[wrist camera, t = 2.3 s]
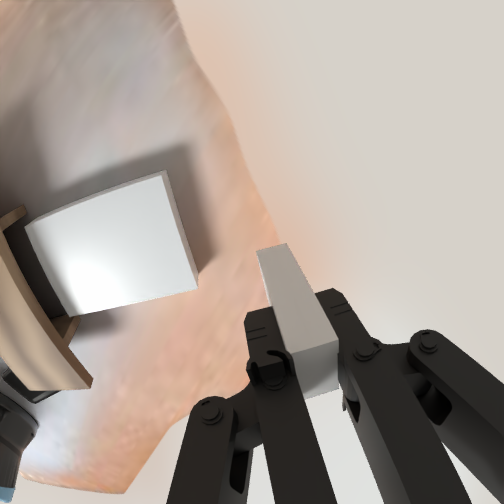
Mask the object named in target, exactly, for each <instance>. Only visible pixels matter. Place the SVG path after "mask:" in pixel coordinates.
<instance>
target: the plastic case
mask: <svg viewBox="0 0 504 504" xmlns="http://www.w3.org/2000/svg"><path fill="white" fill-rule="evenodd" d="M25 230H26V232H27V235H28V237H29V240H30V242H31V244H32V246H33V249H34V251H35V253H36V255H37V257H38V260H39V262H40V264H41V266H42V268H43V270H44V272H45V274H46V276H47V278H48V280H49V282H50V284H51V285H52V287H53V289H54V291H55V293H56V295H57V296H58V298H59V300H60V302H61V303H62V305H63V307H64V309H65V310H66V312H67V314H68V315H69V317H72V316H77V315H82V314H86V313H91V312H96V311H101V310H105V309H110V308H115V307H119V306H124V305H129V304H133V303H138V302H142V301H147V300H151V299H156V298H160V297H164V296H169V295H173V294H178V293H182V292H186V291H190V290H195V289H198V275H199V274H198V271H197V268H196V265H195V262H194V259H193V256H192V253H191V250H190V247H189V244H188V241H187V237H186V234H185V231H184V228H183V225H182V222H181V218H180V215H179V212H178V209H177V205H176V202H175V199H174V195H173V192H172V188H171V185H170V181H169V178H168V174H167V171H166V170H163V171H160V172H157V173H153V174H150V175H147V176H144V177H141V178H138V179H134V180H131V181H128V182H126V183H123V184H120V185H117V186H114V187H111V188H108V189H106V190H103V191H100V192H97V193H95V194H92V195H90V196H87V197H84V198H82V199H79V200H77V201H74V202H72V203H69V204H67V205H65V206H62V207H60V208H58V209H55V210H53V211H51V212H48V213H46V214H44V215H42V216H39V217H37V218H36V219H35V220H33V221H32V222H31V223H29V224H28V225H27V226H25Z"/></svg>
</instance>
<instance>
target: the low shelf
mask: <svg viewBox="0 0 504 504" xmlns="http://www.w3.org/2000/svg"><path fill="white" fill-rule="evenodd" d="M26 214H27V212H26V209H25V207H24V204H23V205H21V206H20V207H18V208H16V209H14V210H13V211H11V212H9V213H8V214H6V215H4V216H3V217H1V218H0V356H1V358H2V359H3V360H4V361H5V363H6V364H7V365H8V366H9V368H10V369H11V370H12V371H13V372H14V374H15V375H16V376H17V377H18V378H19V379H20V380H21V381H22V383H23V384H24V385H25V386H26V387H27V388H28V389H29V390H31V391H49V390H79V389H90V388H91V385H92V382H93V378H92V376H91V375H90V374H89V373H88V372H87V370H86V369H85V368H84V367H83V365H82V364H81V363H80V362H79V360H78V359H77V358H76V357H75V355H74V354H73V353H72V351H71V350H70V349H69V347H68V346H69V344H70V342H71V339H72V337H73V335H74V333H75V331H76V329H77V327H78V325H79V323H80V320H81V318H80V317H79V315H77V316H72V317H69V315H64V316H59V317H55V318H51V319H49V318H48V317H47V315H46V314H45V312H44V311H43V309H42V307H41V306H40V304H39V302H38V301H37V299H36V297H35V296H34V294H33V292H32V291H31V289H30V287H29V285H28V283H27V282H26V280H25V278H24V276H23V274H22V272H21V270H20V268H19V266H18V264H17V262H16V260H15V258H14V256H13V254H12V252H11V250H10V248H9V246H8V243H7V241H6V239H5V237H4V234H3V232H2V231H3V230H4V229H6V228H7V227H9V226H10V225H11V224H13V223H14V222H15V221H17V220H18V219H20V218H21V217H23V216H24V215H26Z"/></svg>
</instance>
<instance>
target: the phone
mask: <svg viewBox="0 0 504 504" xmlns="http://www.w3.org/2000/svg"><path fill="white" fill-rule="evenodd" d="M2 378H3V379H4V381H5V382H6V383H8V384H9V385H10V386H11V387H12V388H13V389H15V390H16V391H17V392H18V393H20V394H21V395H22V396H23V397H25V398H26V399H27V400H28V401H30V402H31V403H34V404H36V403H38V402H40V401H42V400H44V399H46V398H48V397H50V396H52V395H54V394H56V393H58V392H59V391H61V390H49V391H31V390H29V389H28V388H27V387H26V386H25V385H24V384H23V383H22V381H21V380H20V379H19V378H18V377H17V376H16V375H15V374H14V372H13V371H12V370H11V369H10V368H9V369H8V370H7V371H6V372H5V373H4V374H3V376H2Z"/></svg>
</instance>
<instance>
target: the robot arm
mask: <svg viewBox="0 0 504 504" xmlns="http://www.w3.org/2000/svg"><path fill="white" fill-rule="evenodd" d="M256 254H257V258H258V262H259V266H260V270H261V274H262V278H263V283H264V287H265V291H266V295H267V299H268V302H269V305H270V307H267V308H263V309H259V310H255V311H251V312H248V313H247V315H246V318H245V320H244V326H245V332H246V338H247V344H248V350H249V356H250V359H249V360H248V362H247V366H246V371H247V373H248V376H249V378H250V382H249V384H248V385H247V387H246V388H245V389H244V390H242V391H241V392H239V393H237V394H236V395H234V396H232V397H230V398H228V399H225V398H223V397H218V396H212V397H206V398H204V399H202V400H200V401H199V402H198V403H197V404H196V405H194V407H193V409H192V411H191V413H190V416H189V420H188V423H187V427H186V431H185V434H184V438H183V442H182V445H181V449H180V453H179V457H178V460H177V464H176V468H175V472H174V476H173V480H172V483H171V487H170V491H169V495H168V499H167V503H166V504H247V496H248V488H249V481H250V473H251V465H252V457H253V449H254V448H255V447H257V446H259V445H261V444H262V443H263V445H264V450H265V455H266V460H267V466H268V471H269V475H270V480H271V486H272V491H273V495H274V500H275V504H337V501H336V498H335V494H334V491H333V488H332V485H331V482H330V479H329V476H328V472H327V469H326V466H325V463H324V460H323V456H322V453H321V450H320V447H319V444H318V441H317V438H316V435H315V431H314V428H313V425H312V422H311V419H310V416H309V413H308V409H307V406H306V403H305V399H308V398H311V397H315V396H317V395H321V394H324V393H327V392H330V391H333V390H336V389H339V383H340V386H341V388H342V390H343V403H342V406H343V411H345V410H346V408H347V410H348V413H349V415H350V418H351V420H352V423H353V425H354V428H355V430H356V432H357V435H358V437H359V440H360V442H361V445H362V447H363V450H364V452H365V455H366V457H367V460H368V462H369V465H370V468H371V470H372V473H373V475H374V478H375V480H376V483H377V486H378V488H379V491H380V493H381V496H382V499H383V502H384V504H472V503H471V500H470V498H469V496H468V494H467V492H466V490H465V487H464V485H463V483H462V481H461V479H460V477H459V475H458V473H457V471H456V469H455V467H454V465H453V463H452V461H451V459H450V457H449V455H448V453H447V451H446V449H445V448H444V446H443V444H442V442H443V443H444V445H445V446H446V447H447V448H448V449H449V450H450V451H451V452H452V453H453V454H454V455H455V456H456V457H457V458H458V459H459V460H460V461H461V462H462V463H463V464H464V465H465V466H466V467H467V468H468V469H469V470H470V471H471V473H472V474H473V475H474V476H475V477H476V478H477V479H478V480H479V481H480V482H481V483H482V484H483V485H484V486H485V487H486V488H487V489H488V490H489V491H490V492H491V493H492V495H493V496H494V497H495V498H496V499H497V500H498V501H499V502H500V503H501V504H504V384H503V383H502V382H500V381H499V380H498V379H497V378H496V377H494V376H493V375H492V374H491V373H490V372H488V371H487V370H486V369H485V368H484V367H482V366H481V365H480V364H478V363H477V362H476V361H475V360H474V359H472V358H471V357H470V356H469V355H467V354H466V353H465V352H463V351H462V350H461V349H460V348H459V347H457V346H456V345H455V344H453V343H452V342H451V341H449V340H448V339H447V338H446V337H444V336H443V335H442V334H440V333H438V332H437V331H434V330H428V329H427V330H420V331H419V332H417V333H415V334H414V335H413V336H412V337H411V339H410V342H409V343H402V344H392V345H391V344H383V343H381V342H380V341H379V340H377V339H375V338H373V337H371V336H370V335H369V334H368V332H367V331H366V329H365V327H364V326H363V324H362V323H361V321H360V320H359V318H358V317H357V315H356V313H355V312H354V311H353V310H352V307H351V306H350V304H348V301H347V300H346V298H345V297H344V295H343V294H342V293H340V292H339V291H337V290H335V289H334V288H331V289H328V290H324V291H321V292H318V293H314V292H313V290H312V288H311V286H310V285H309V283H308V281H307V279H306V277H305V275H304V274H303V272H302V270H301V268H300V266H299V265H298V263H297V261H296V259H295V257H294V256H293V254H292V252H291V250H290V248H289V247H288V245H287V243H285V244H281V245H277V246H274V247H270V248H266V249H262V250H258V251H256ZM37 429H38V425H37V423H36V422H35V420H34V419H33V418H32V417H31V416H30V415H29V414H28V413H27V412H26V411H25V410H24V409H22V408H21V407H20V406H19V405H17V404H16V403H15V402H13V401H12V400H11V399H9V398H8V397H6V396H4V395H3V394H1V393H0V501H2V502H6V503H9V502H11V500H12V497H13V493H14V490H15V484H16V479H17V474H18V470H19V465H20V461H21V457H22V453H23V451H24V450H25V448H26V447H27V446H28V445H29V443H30V442H31V441H32V440H33V438H34V437H35V435H36V433H37ZM441 441H442V442H441Z"/></svg>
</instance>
